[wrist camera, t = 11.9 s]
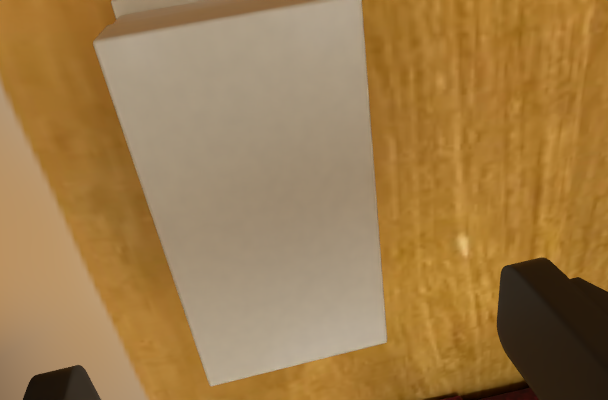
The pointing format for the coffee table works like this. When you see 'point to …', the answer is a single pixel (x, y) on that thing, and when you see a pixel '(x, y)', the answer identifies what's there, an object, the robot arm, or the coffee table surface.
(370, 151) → the thin cream book
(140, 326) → the coffee table surface
